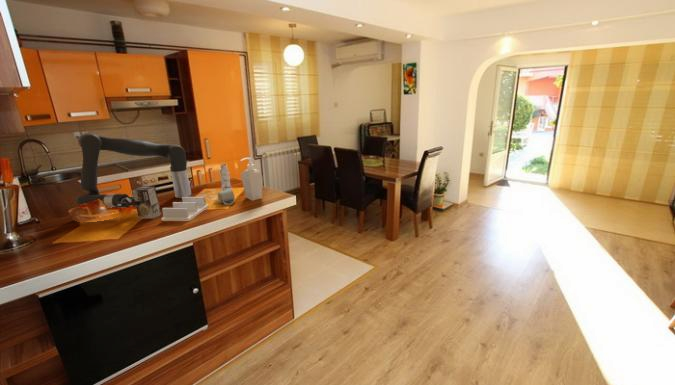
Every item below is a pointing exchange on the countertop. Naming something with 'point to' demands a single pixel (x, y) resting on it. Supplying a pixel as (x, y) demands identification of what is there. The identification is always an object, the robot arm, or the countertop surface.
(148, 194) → the coffee box
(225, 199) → the ceramic mug
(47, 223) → the countertop surface
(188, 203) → the slot rack
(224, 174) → the plastic bottle
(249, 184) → the soap bottle
